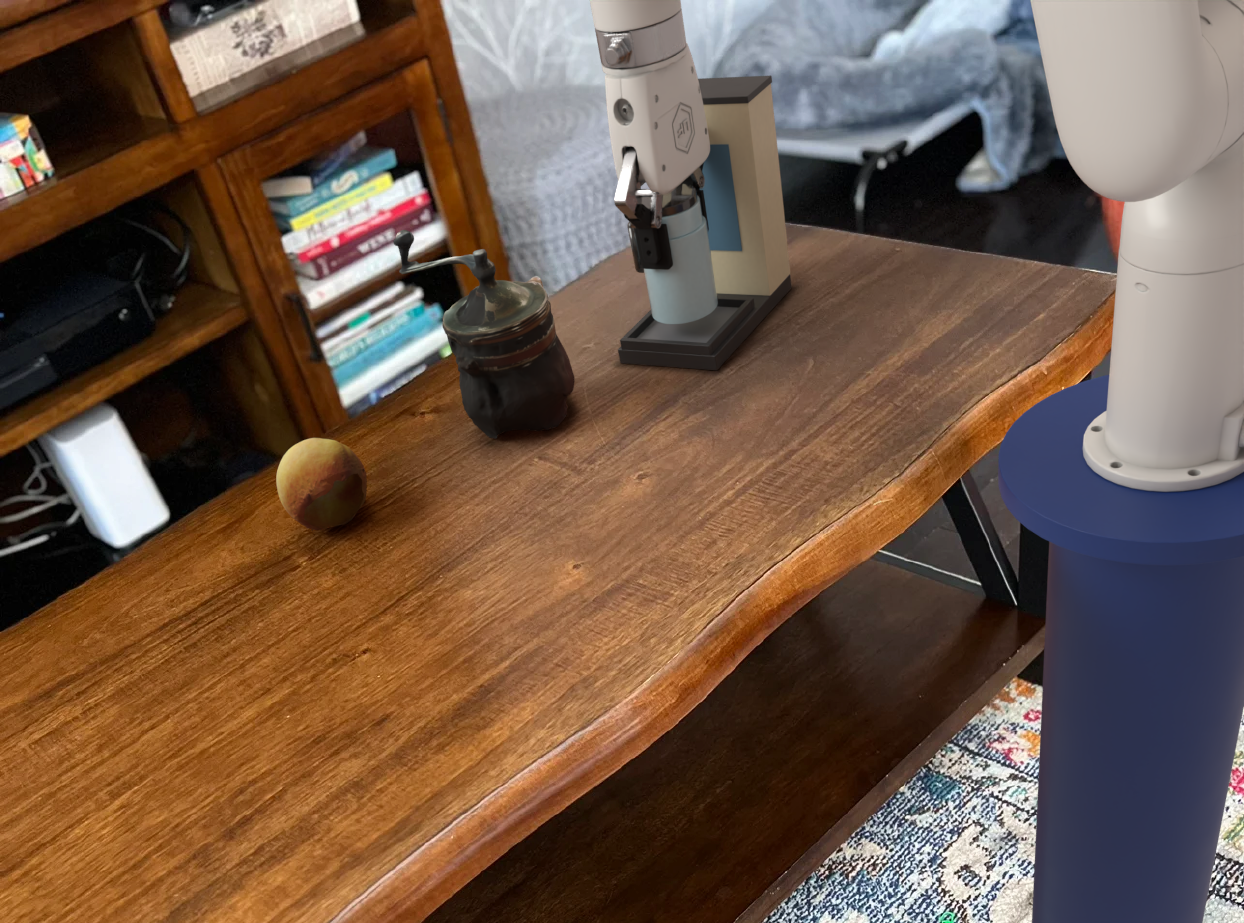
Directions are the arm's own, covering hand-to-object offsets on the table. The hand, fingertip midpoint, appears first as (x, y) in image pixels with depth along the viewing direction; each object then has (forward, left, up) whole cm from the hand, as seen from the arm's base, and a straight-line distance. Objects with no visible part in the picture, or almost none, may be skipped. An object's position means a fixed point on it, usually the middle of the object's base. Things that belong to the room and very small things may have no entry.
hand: (675, 249), depth 123 cm
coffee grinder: (+11, +18, -10) cm, 23 cm away
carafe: (0, 0, -6) cm, 6 cm away
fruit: (+18, +37, -10) cm, 42 cm away
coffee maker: (0, -4, -9) cm, 10 cm away
